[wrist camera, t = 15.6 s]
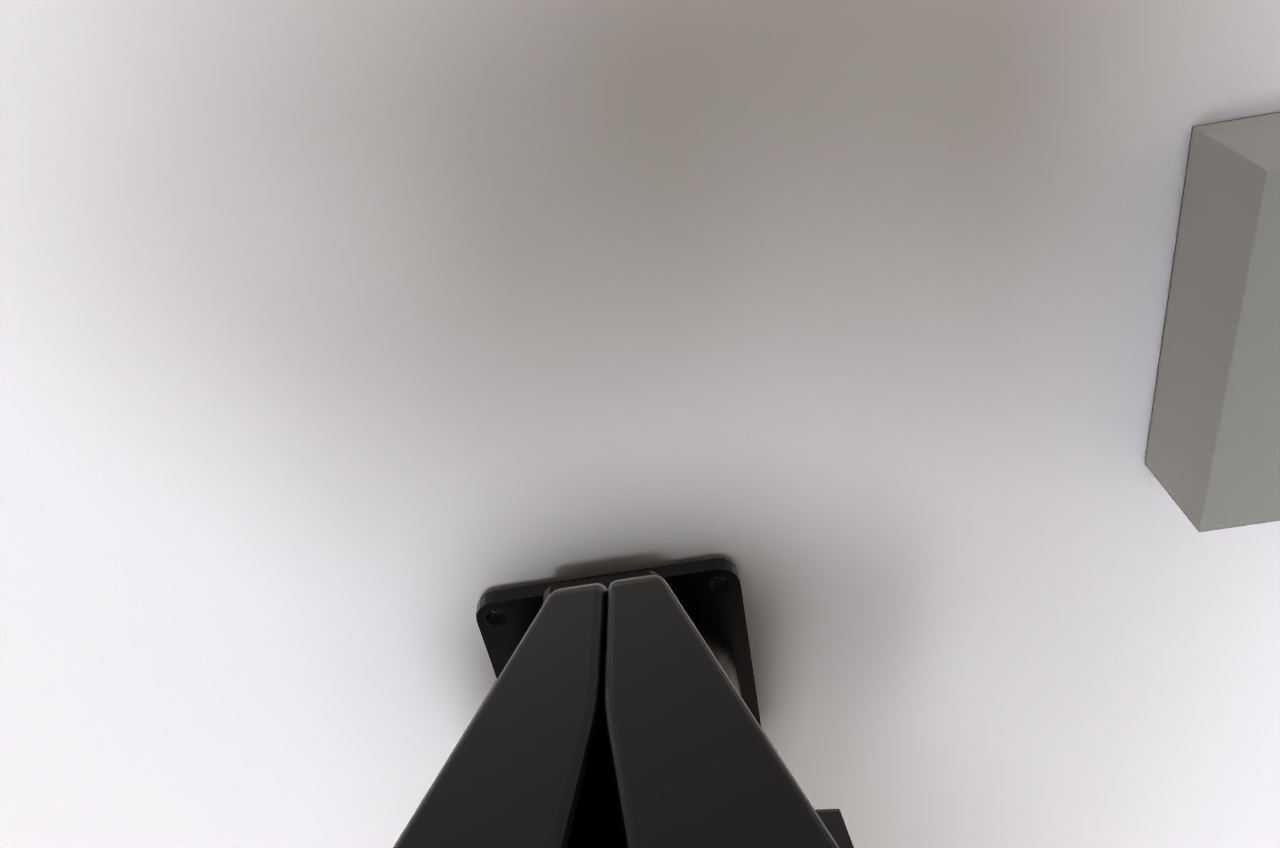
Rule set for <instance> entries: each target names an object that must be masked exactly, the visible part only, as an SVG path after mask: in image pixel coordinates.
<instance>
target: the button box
mask: <svg viewBox="0 0 1280 848" xmlns="http://www.w3.org/2000/svg"><path fill="white" fill-rule="evenodd" d="M1145 465H1146V466H1147V467H1148V469H1149V470H1150V471H1151V472H1152V474H1153V475H1154V476H1155V477H1156V479H1157V480H1158V481H1159V482H1160V484H1161V485H1162V486H1163V487H1164V489H1165V490H1166V491H1167V492H1168V494H1169V495H1170V496H1171V498H1172V499H1173V500H1174V501H1175V503H1176V504H1177V505H1178V506H1179V508H1180V509H1181V510H1182V511H1183V513H1184V514H1185V515H1186V516H1187V518H1188V519H1189V520H1190V521H1191V523H1192V524H1193V525H1194V526H1195V528H1196V529H1197V530H1198V531H1199V532H1204V531H1211V530H1218V529H1225V528H1232V527H1239V526H1245V525H1252V524H1259V523H1266V522H1273V521H1280V112H1278V113H1272V114H1267V115H1261V116H1255V117H1249V118H1243V119H1237V120H1231V121H1225V122H1219V123H1213V124H1207V125H1201V126H1196V127H1193V132H1192V139H1191V146H1190V153H1189V160H1188V167H1187V174H1186V181H1185V188H1184V195H1183V202H1182V209H1181V216H1180V223H1179V230H1178V237H1177V244H1176V251H1175V258H1174V265H1173V272H1172V279H1171V286H1170V293H1169V300H1168V307H1167V314H1166V321H1165V328H1164V335H1163V342H1162V349H1161V356H1160V363H1159V370H1158V377H1157V384H1156V391H1155V398H1154V405H1153V412H1152V419H1151V426H1150V433H1149V440H1148V447H1147V454H1146V461H1145Z"/></svg>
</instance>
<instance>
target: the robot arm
mask: <svg viewBox="0 0 1280 848" xmlns="http://www.w3.org/2000/svg"><path fill="white" fill-rule="evenodd" d="M717 577H724V578H725V579H724V580H722V581H719V582H718V581H712V579H714V578H717ZM493 610H500V611H502V612H504V613H501V614H495V613H493V612H491V611H493ZM476 617H477V623H478V626H479V628H480V631H481V634H482V637H483V640H484V643H485V646H486V648H487V651H488V654H489V657H490V660H491V663H492V666H493V668H494V671H495V674H496V677H497V680H496V682H495V683H494V685H493V687H492V688H491V690H490V692H489V693H488V695H487V696H486V698H485V700H484V701H483V703H482V705H481V706H480V708H479V709H478V711H477V713H476V714H475V716H474V717H473V719H472V721H471V722H470V724H469V726H468V727H467V729H466V730H465V732H464V734H463V735H462V737H461V739H460V740H459V742H458V743H457V745H456V747H455V748H454V750H453V752H452V753H451V755H450V756H449V758H448V760H447V761H446V763H445V764H444V766H443V768H442V769H441V771H440V773H439V774H438V776H437V777H436V779H435V781H434V782H433V784H432V786H431V787H430V789H429V790H428V792H427V794H426V795H425V797H424V799H423V800H422V802H421V803H420V805H419V807H418V808H417V810H416V812H415V813H414V815H413V816H412V818H411V820H410V821H409V823H408V824H407V826H406V828H405V829H404V831H403V833H402V834H401V836H400V837H399V839H398V841H397V842H396V844H395V846H394V847H393V848H854V847H853V845H852V842H851V839H850V836H849V834H848V831H847V828H846V826H845V823H844V820H843V818H842V815H841V812H840V810H839V809H824V810H814V808H813V807H812V805H811V803H810V802H809V800H808V799H807V797H806V796H805V794H804V793H803V791H802V790H801V788H800V787H799V785H798V783H797V782H796V780H795V779H794V777H793V776H792V774H791V773H790V771H789V770H788V768H787V767H786V765H785V763H784V762H783V760H782V759H781V757H780V756H779V754H778V753H777V751H776V750H775V748H774V747H773V745H772V743H771V742H770V740H769V739H768V737H767V736H766V734H765V733H764V731H763V730H762V728H761V723H760V717H759V710H758V703H757V696H756V689H755V682H754V675H753V668H752V661H751V654H750V647H749V640H748V634H747V627H746V620H745V613H744V606H743V599H742V592H741V585H740V579H739V573H738V569H737V567H736V565H735V564H734V563H733V562H731V561H730V560H727V559H724V558H715V559H708V560H701V561H695V562H688V563H681V564H674V565H668V566H661V567H654V568H648V569H641V570H634V571H627V572H621V573H614V574H607V575H600V576H594V577H587V578H580V579H574V580H567V581H560V582H553V583H547V584H540V585H533V586H526V587H520V588H513V589H506V590H500V591H493V592H490V593H487V594H485V595H484V596H482V597H481V598H480V600H479V602H478V606H477V613H476Z"/></svg>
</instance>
